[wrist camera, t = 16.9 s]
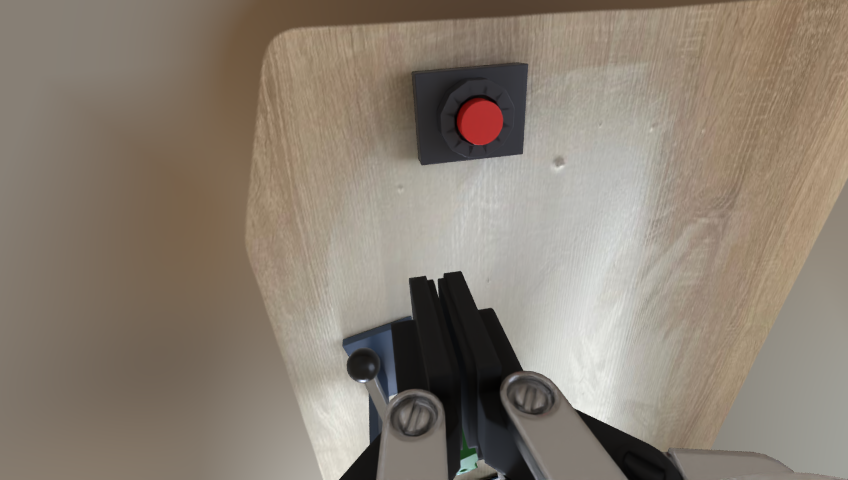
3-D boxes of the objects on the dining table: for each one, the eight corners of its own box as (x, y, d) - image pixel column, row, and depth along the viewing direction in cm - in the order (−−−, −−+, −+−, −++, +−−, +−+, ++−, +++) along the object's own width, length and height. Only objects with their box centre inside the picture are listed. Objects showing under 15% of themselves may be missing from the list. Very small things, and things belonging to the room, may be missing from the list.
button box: (418, 159, 37) (424, 171, 34) (411, 71, 34) (417, 75, 30) (515, 148, 38) (530, 159, 35) (519, 62, 34) (536, 64, 31)
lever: (343, 347, 37) (339, 367, 34) (374, 336, 37) (372, 355, 34) (390, 445, 41) (390, 470, 38) (418, 435, 41) (419, 460, 38)
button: (457, 142, 33) (461, 147, 32) (456, 99, 32) (460, 102, 30) (496, 138, 34) (502, 142, 32) (497, 95, 32) (503, 98, 31)
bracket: (342, 339, 47) (335, 443, 35) (410, 315, 47) (427, 411, 34) (375, 393, 52) (379, 500, 40) (436, 372, 52) (458, 473, 40)
